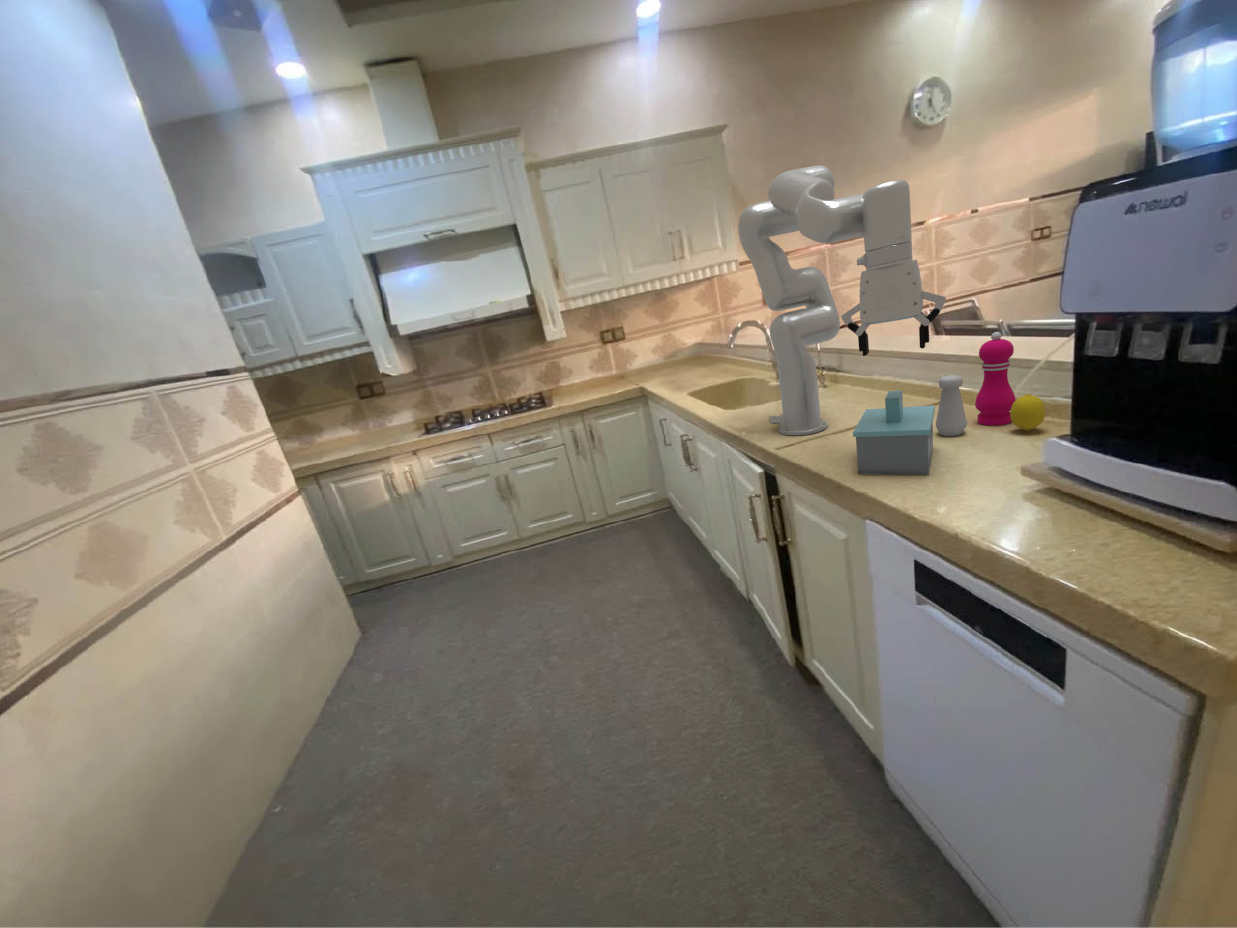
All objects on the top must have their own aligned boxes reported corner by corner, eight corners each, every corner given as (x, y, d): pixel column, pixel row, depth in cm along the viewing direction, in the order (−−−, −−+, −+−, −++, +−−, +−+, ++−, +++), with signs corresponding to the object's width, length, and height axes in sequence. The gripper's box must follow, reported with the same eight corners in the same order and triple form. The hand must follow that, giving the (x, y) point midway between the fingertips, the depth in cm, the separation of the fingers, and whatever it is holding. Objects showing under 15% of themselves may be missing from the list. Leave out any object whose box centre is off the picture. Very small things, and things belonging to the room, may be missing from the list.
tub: (858, 474, 99) (855, 436, 96) (870, 448, 111) (868, 414, 109) (928, 474, 92) (927, 434, 90) (933, 447, 104) (932, 410, 102)
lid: (853, 442, 97) (851, 407, 95) (866, 418, 110) (864, 387, 107) (930, 441, 89) (929, 402, 87) (934, 415, 102) (934, 381, 100)
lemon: (1039, 426, 103) (1041, 389, 100) (1048, 434, 98) (1050, 395, 96) (1006, 428, 105) (1007, 392, 103) (1013, 436, 100) (1014, 398, 98)
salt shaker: (962, 428, 111) (962, 371, 107) (970, 435, 106) (971, 376, 102) (932, 431, 113) (931, 375, 109) (939, 438, 108) (938, 380, 104)
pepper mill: (1001, 415, 113) (1003, 327, 108) (1023, 422, 107) (1026, 329, 101) (968, 420, 115) (968, 334, 109) (987, 428, 108) (988, 336, 102)
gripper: (833, 270, 92) (841, 360, 97) (944, 245, 82) (946, 347, 87) (841, 268, 98) (848, 354, 102) (945, 245, 88) (948, 341, 92)
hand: (893, 351), depth 94 cm, fingers open, 9 cm apart
